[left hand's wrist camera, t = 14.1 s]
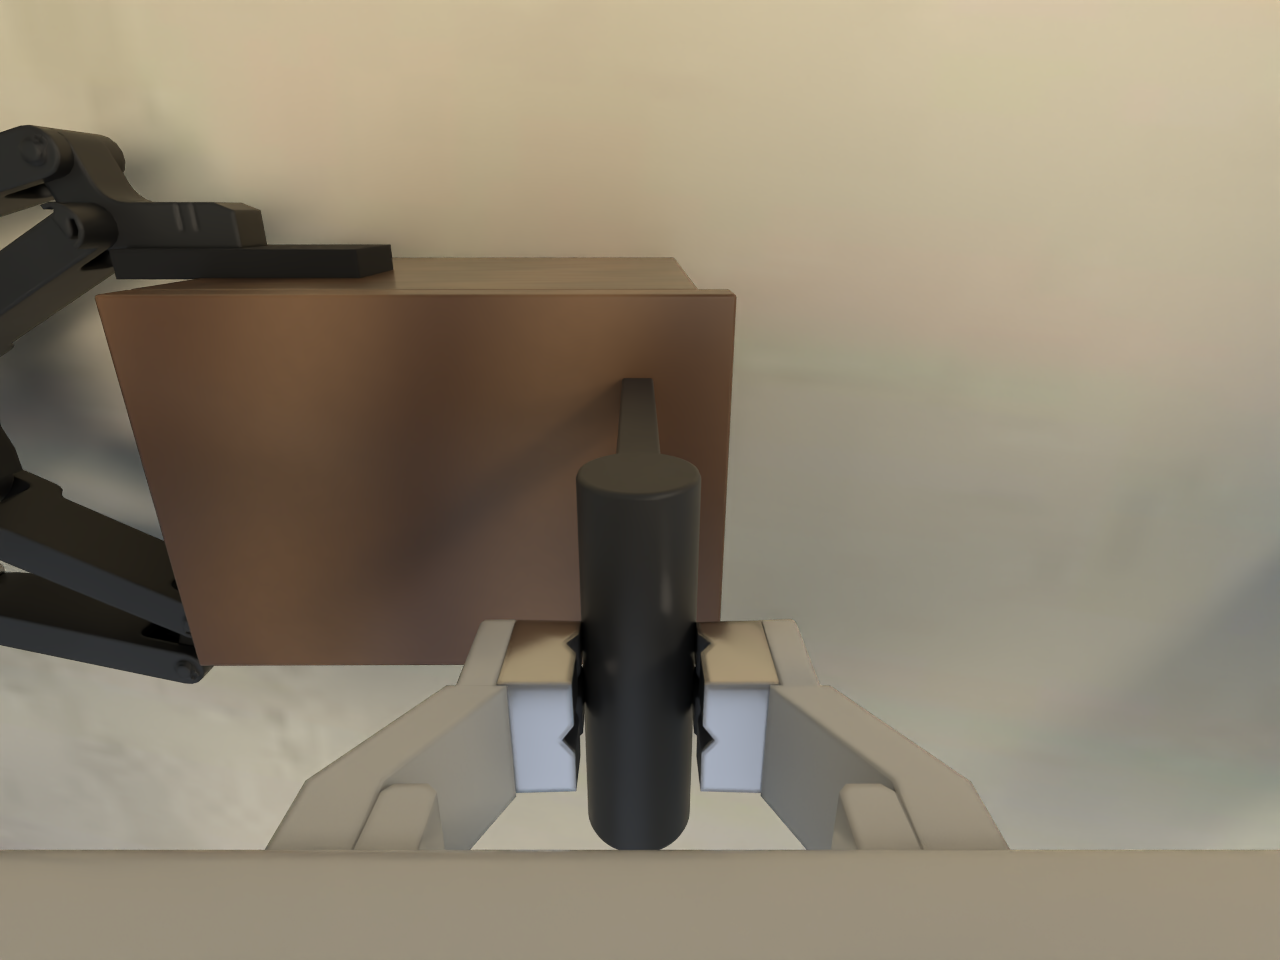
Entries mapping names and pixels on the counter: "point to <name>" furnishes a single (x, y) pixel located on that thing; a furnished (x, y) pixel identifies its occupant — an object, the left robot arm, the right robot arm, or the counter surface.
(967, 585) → the counter surface
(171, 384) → the lid
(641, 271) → the chest
